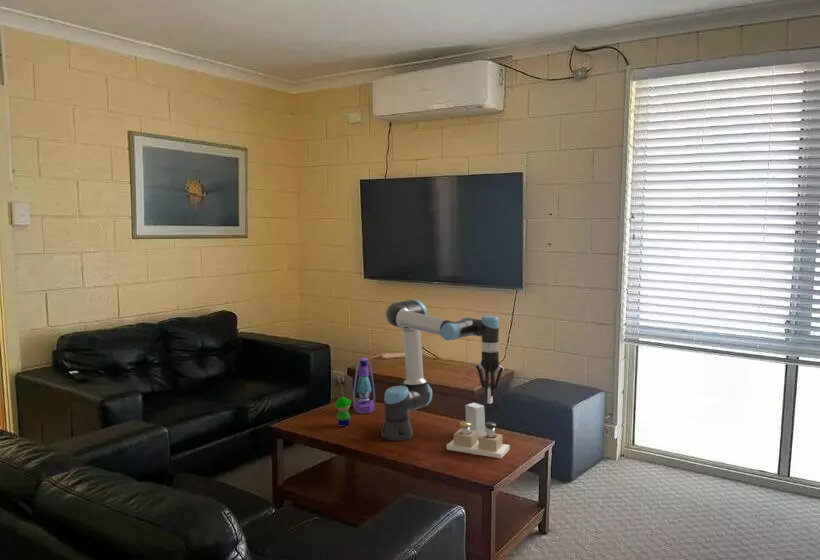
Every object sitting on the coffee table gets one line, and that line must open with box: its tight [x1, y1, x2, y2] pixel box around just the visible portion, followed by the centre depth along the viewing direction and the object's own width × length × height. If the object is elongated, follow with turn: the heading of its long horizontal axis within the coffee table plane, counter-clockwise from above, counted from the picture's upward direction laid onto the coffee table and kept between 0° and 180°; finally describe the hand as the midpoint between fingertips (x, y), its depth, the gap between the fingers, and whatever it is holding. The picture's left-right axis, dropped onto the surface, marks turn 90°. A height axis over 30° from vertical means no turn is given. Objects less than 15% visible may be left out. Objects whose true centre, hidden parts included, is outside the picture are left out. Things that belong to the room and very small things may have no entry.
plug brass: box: [459, 420, 471, 435], centre depth 286 cm, size 5×5×9 cm
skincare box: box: [464, 402, 486, 439], centre depth 302 cm, size 8×6×15 cm
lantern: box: [352, 356, 376, 414], centre depth 342 cm, size 13×12×30 cm
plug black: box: [485, 421, 497, 439], centre depth 280 cm, size 5×5×9 cm
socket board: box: [445, 428, 511, 459], centre depth 283 cm, size 26×12×7 cm, turn 64°
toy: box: [333, 396, 354, 427], centre depth 318 cm, size 9×9×15 cm
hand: (490, 402), depth 279 cm, fingers closed
